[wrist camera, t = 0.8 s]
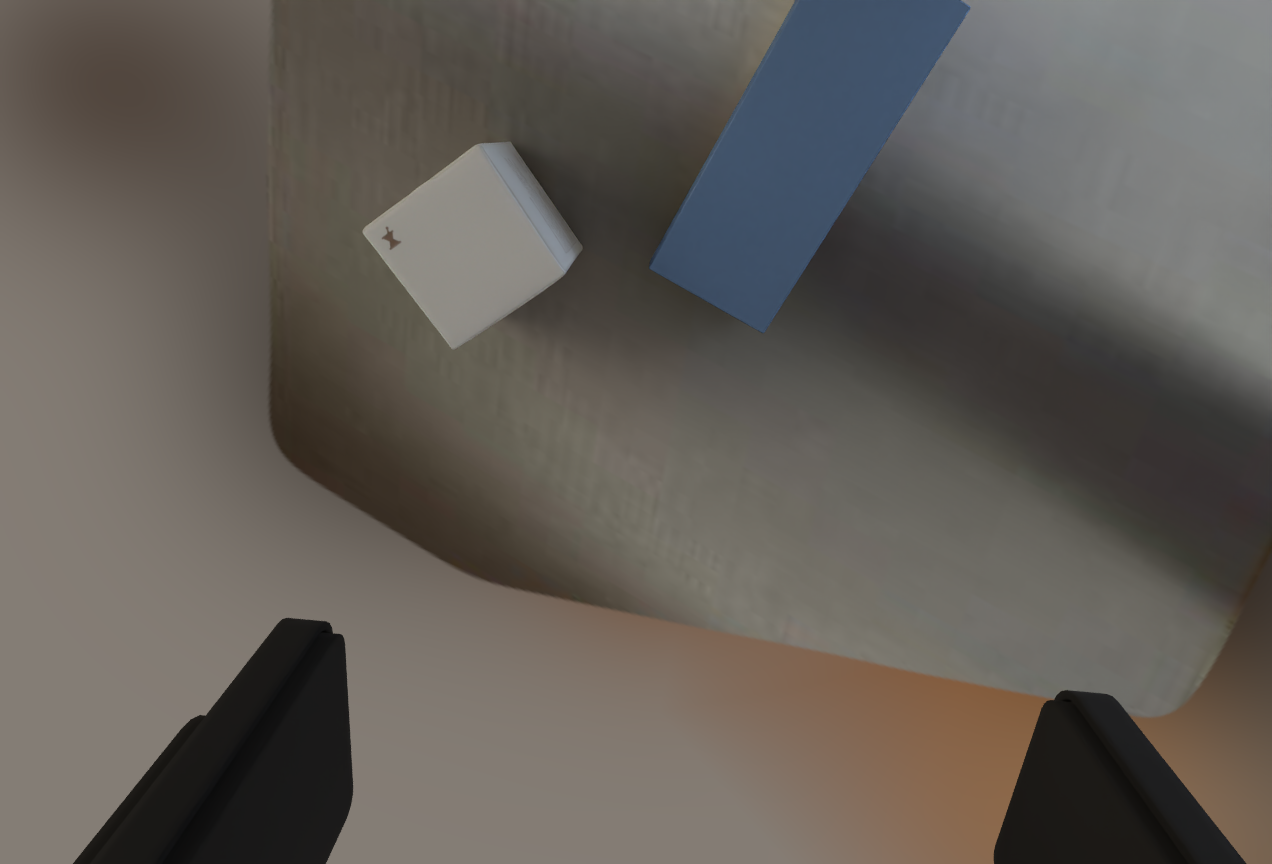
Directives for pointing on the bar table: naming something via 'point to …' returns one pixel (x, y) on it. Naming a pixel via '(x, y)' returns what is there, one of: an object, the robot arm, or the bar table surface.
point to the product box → (475, 241)
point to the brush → (800, 147)
